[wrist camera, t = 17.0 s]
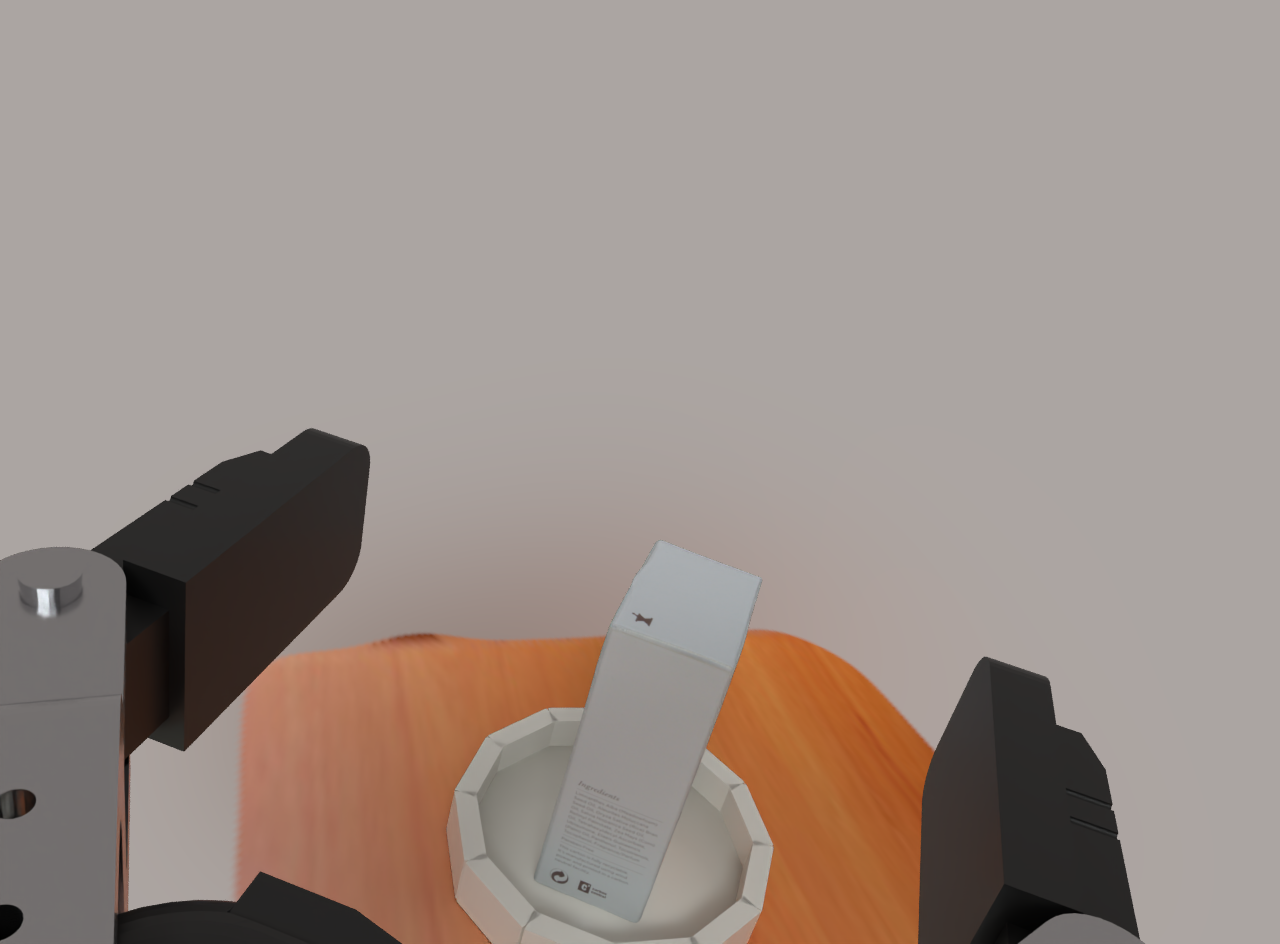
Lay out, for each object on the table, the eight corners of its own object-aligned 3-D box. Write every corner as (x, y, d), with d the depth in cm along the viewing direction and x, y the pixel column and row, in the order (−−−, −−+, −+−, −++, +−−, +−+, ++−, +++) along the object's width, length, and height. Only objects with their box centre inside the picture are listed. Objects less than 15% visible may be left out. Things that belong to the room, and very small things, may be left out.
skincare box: (640, 930, 37) (735, 672, 31) (529, 884, 38) (604, 623, 32) (679, 812, 42) (767, 574, 37) (582, 773, 43) (654, 533, 37)
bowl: (773, 804, 45) (787, 771, 44) (724, 1054, 34) (742, 1017, 33) (516, 706, 46) (524, 672, 45) (393, 918, 36) (401, 879, 35)
